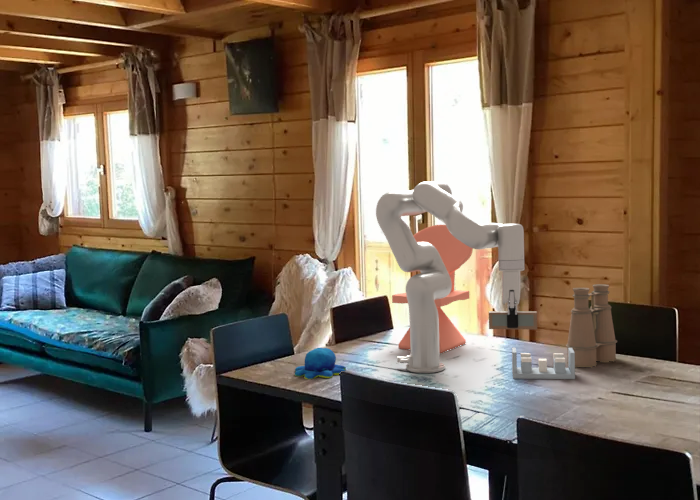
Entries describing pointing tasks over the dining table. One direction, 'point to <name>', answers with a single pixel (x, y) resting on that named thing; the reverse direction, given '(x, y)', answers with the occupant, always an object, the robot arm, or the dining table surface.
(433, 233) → the chair
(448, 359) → the dining table surface
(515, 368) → the display cradle
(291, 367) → the dining table surface
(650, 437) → the dining table surface
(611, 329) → the binoculars
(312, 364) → the plush toy
